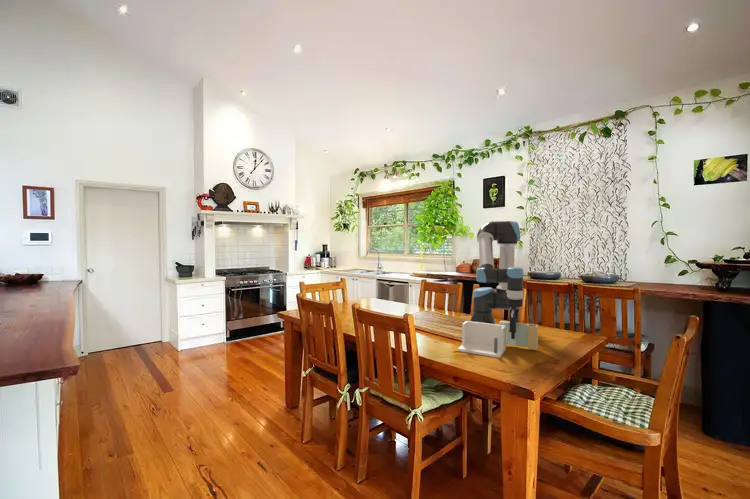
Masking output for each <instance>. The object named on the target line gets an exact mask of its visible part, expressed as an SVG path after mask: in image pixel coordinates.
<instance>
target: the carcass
mask: <svg viewBox="0 0 750 499" xmlns="http://www.w3.org/2000/svg"><path fill="white" fill-rule="evenodd" d="M461 327H462V328H461V333H462V334H461V345H460V346H459V347H458V348H457V352H463V353H469V354H474V355H479V356H480V355H481V356H485V357H490V358H491V357H492V358H496V359H497V358H498V359H500V358H501V356H502V355H503V354H504V353H505V351H507V348H506V346H507V344H506V326H505V325H499V324H497V323H495V324H489V323H481V322H473V321H470V320H465V321H464V322H463V323H462V325H461Z"/></svg>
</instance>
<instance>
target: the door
mask: <svg viewBox="0 0 750 499" xmlns="http://www.w3.org/2000/svg"><path fill="white" fill-rule="evenodd" d="M498 325H505V326H506V345H510V332H509V330H510V321H509V320H508V321H506V320H500V321H499V322H498ZM510 346H511V345H510ZM514 346H515V347H522V348H527V349H531V350H537V349H538V346H539V324H534V323H525V322H524V323H523V322H522V323H521V322H518V323H516V345H514Z"/></svg>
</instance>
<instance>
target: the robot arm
mask: <svg viewBox="0 0 750 499" xmlns="http://www.w3.org/2000/svg"><path fill="white" fill-rule="evenodd" d="M476 240H477V243H478V250H479V251H478V252H479V253H478V255H479V256H478V257H479V267H478V268H476V273H475V274H476V276H475V278H476V282H478V283H483V284H484V283H485V284H486V283H487V284H488V283H494V284H497V283H498V285H497V286H496V289H493V287H491V286H490V287H488V286H487V287H485V286H484V287H478V288H475V289H473V294H472V298H473V300H472V302H473V303H472V305H473V306H472V314H471V317H470V320H469V321H473V322H481V323H489V324H496V321H495V317H494V315H493V310H505V311H509V314H508V315H509V322H510V330H509V332H510V346H515V345H516V323H519V317H520V314H519V313H520V307H523V304H524V302H523V301H524V300H523V299H524V297H523V296H524V275H525V274H524V269H523V268H522V267H519V266H515V247H516V246H517V245H518V242H519V241H521V229H520V225H519V223H518V221H510V220H508V221H507V220H506V221H505V220H503V221H501V220H500V221H499V220H498V221H493V220H492V221H488V222H485V224H483V225H481V227H480V228H479V230H478V232H477V234H476ZM494 241H496V244H497V245H498V247H499V262H498V264H499V268H495V263H494V262H495V260H494V249H493V247H494V246H493V242H494Z"/></svg>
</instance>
